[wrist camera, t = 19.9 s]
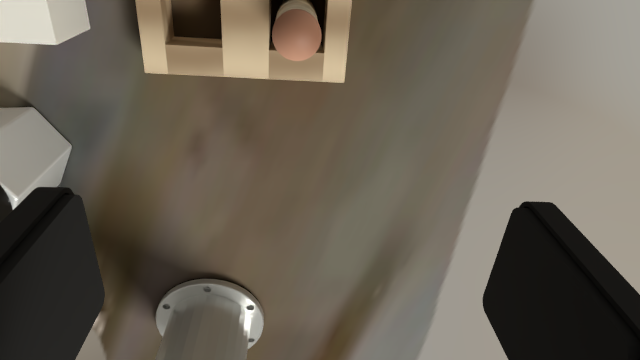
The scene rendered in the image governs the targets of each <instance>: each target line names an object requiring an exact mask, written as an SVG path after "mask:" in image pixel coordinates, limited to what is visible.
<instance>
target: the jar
mask: <svg viewBox="0 0 640 360" xmlns="http://www.w3.org/2000/svg"><path fill="white" fill-rule="evenodd" d="M71 148H72V145H71V144H70V143H69V142H68V141H67V140H66V139H65V138H64V137H63V136H62V135H61V134H60V133H59V132H58V131H57V130H56V129H55V128H54V127H53V126H52V125H51V124H50V123H49V122H48V121H47V120H46V119H45V118H44V117H43V116H42V115H41V114H40V113H39V112H38V111H37V110H36V109H35V108H33V107H15V108H0V222H1V221H2V220H3V219H4V218H5V217H7V216H8V215H9V214H10V213H11V212H12V211H13V210H14V209H15V208H16V207H17V206H18V205H19V204H20V203H21V202H22V201H23V200H24V199H25V198H26V197H27V196H28V195H29V194H30V193H31V192H32V191H33V190H34V189H35V188H37V187H57V186H58V185H59V184H60V183H61V180H62V177H63V174H64V171H65V168H66V164H67V161H68V158H69V155H70V152H71Z"/></svg>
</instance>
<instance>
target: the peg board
mask: <svg viewBox="0 0 640 360" xmlns="http://www.w3.org/2000/svg"><path fill="white" fill-rule="evenodd" d="M135 2H136V9H137V16H138V24H139V31H140V39H141V46H142V53H143V61H144V68H145V73H158V74H178V75H198V76H218V77H238V78H258V79H278V80H299V81H319V82H339V83H344V79H345V68H346V58H347V47H348V37H349V26H350V16H351V5H352V0H325V13H324V28H323V43H322V45H320V46H319V48H318V50H317V51H316V53H315V54H314V55H313V56H311V57H310V58H308V59H306V60H303V61H292V60H289V59H286V58H285V57H283V56H282V55H281V54H280V53H279V52H278V51H277V50H276V48H275V46H274V44H273V42H271V0H220V3H221V25H222V39H210V38H192V37H174V27H173V17H172V7H171V0H135Z"/></svg>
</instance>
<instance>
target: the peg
mask: <svg viewBox="0 0 640 360" xmlns="http://www.w3.org/2000/svg"><path fill="white" fill-rule="evenodd" d="M321 35H322V34H321V29H320V25H319V23H318V19H317V15H316V11H315V8H314V6H313V4H312V3H311V2H310V1H309V0H283V1H282V3H281V4H280V6H279V8H278V12H277V16H276V21H275V23H274V26H273V31H272V40H273V44H274V46H275V48H276V50H277V51H278V52H279V53H280V54H281V55H282V56H283V57H285V58H286V59H289V60H292V61H303V60H306V59H308V58H310V57H311V56H313V55H314V54H315V53H316V51H317V50H318V48H319V46H320V43H321Z"/></svg>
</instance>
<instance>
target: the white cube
mask: <svg viewBox="0 0 640 360" xmlns="http://www.w3.org/2000/svg"><path fill="white" fill-rule="evenodd" d="M89 29H90V23H89V18H88V13H87V8H86V3H85V0H0V42H9V43H29V44H49V45H58V44H60V43H62V42H64V41H66V40H68V39H70V38H72V37H74V36H76V35H78V34H80V33H83V32H85V31H87V30H89Z"/></svg>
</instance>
